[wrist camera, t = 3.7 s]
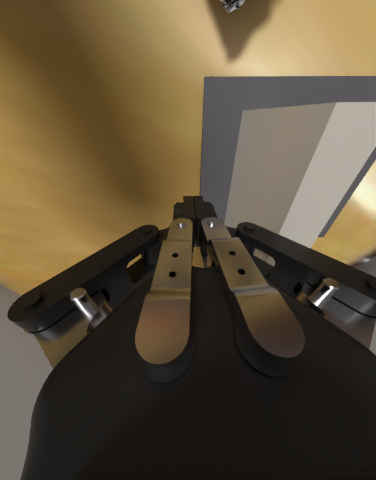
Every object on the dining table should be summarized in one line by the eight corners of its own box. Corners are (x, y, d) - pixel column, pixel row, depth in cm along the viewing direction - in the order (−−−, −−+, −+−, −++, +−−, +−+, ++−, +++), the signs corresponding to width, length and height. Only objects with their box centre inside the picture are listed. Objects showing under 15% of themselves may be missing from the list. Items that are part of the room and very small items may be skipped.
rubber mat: (198, 239, 22) (198, 241, 22) (204, 77, 12) (205, 76, 12) (321, 235, 23) (323, 236, 22) (425, 77, 13) (431, 76, 12)
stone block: (223, 228, 21) (250, 297, 13) (242, 110, 13) (337, 102, 5) (242, 227, 21) (281, 296, 13) (272, 110, 13) (408, 101, 5)
